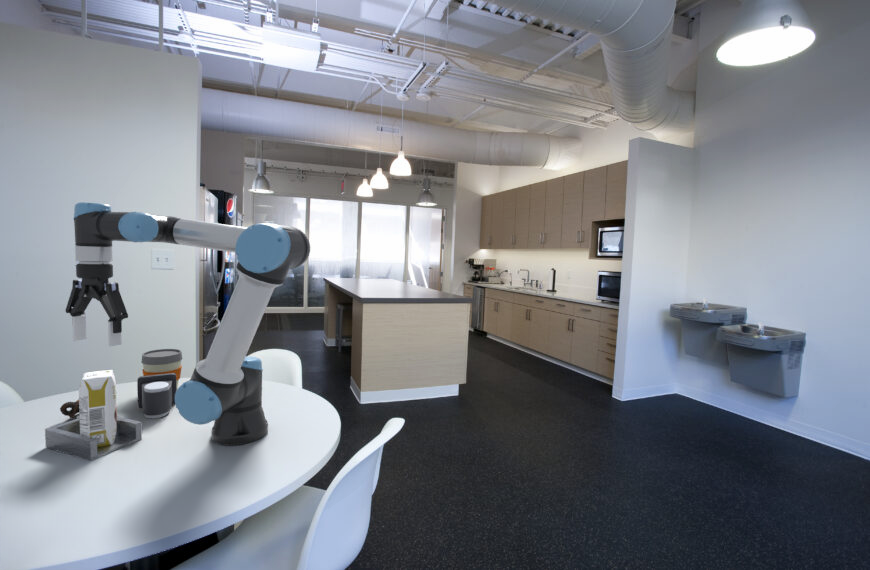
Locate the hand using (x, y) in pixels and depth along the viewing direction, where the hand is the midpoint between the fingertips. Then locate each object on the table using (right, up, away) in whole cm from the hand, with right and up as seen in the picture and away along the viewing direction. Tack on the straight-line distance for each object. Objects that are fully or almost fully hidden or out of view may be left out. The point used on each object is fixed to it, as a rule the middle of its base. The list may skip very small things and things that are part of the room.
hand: (97, 342), depth 111 cm
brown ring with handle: (-19, -26, +19) cm, 38 cm away
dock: (-2, -28, +3) cm, 28 cm away
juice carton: (-1, -28, +2) cm, 28 cm away
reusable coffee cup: (-10, -25, +42) cm, 50 cm away
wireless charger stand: (-1, -26, +26) cm, 37 cm away
